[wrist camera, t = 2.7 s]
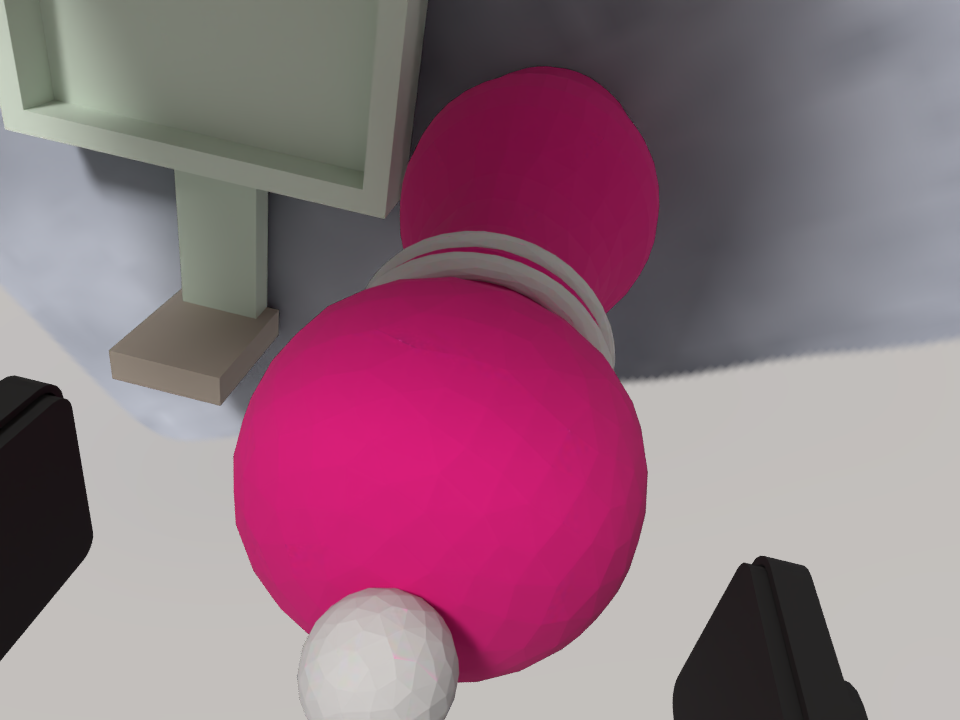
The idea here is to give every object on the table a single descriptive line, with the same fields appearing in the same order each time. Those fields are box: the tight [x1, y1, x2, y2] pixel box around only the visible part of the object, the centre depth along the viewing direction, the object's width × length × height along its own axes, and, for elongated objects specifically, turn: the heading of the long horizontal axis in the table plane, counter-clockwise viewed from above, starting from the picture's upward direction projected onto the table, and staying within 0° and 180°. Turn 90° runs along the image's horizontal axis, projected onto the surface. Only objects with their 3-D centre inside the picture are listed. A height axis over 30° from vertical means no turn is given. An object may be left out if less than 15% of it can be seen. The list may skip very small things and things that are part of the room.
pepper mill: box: [233, 66, 659, 720], centre depth 16 cm, size 7×7×20 cm
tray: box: [0, 0, 428, 406], centre depth 22 cm, size 13×20×5 cm, turn 170°
